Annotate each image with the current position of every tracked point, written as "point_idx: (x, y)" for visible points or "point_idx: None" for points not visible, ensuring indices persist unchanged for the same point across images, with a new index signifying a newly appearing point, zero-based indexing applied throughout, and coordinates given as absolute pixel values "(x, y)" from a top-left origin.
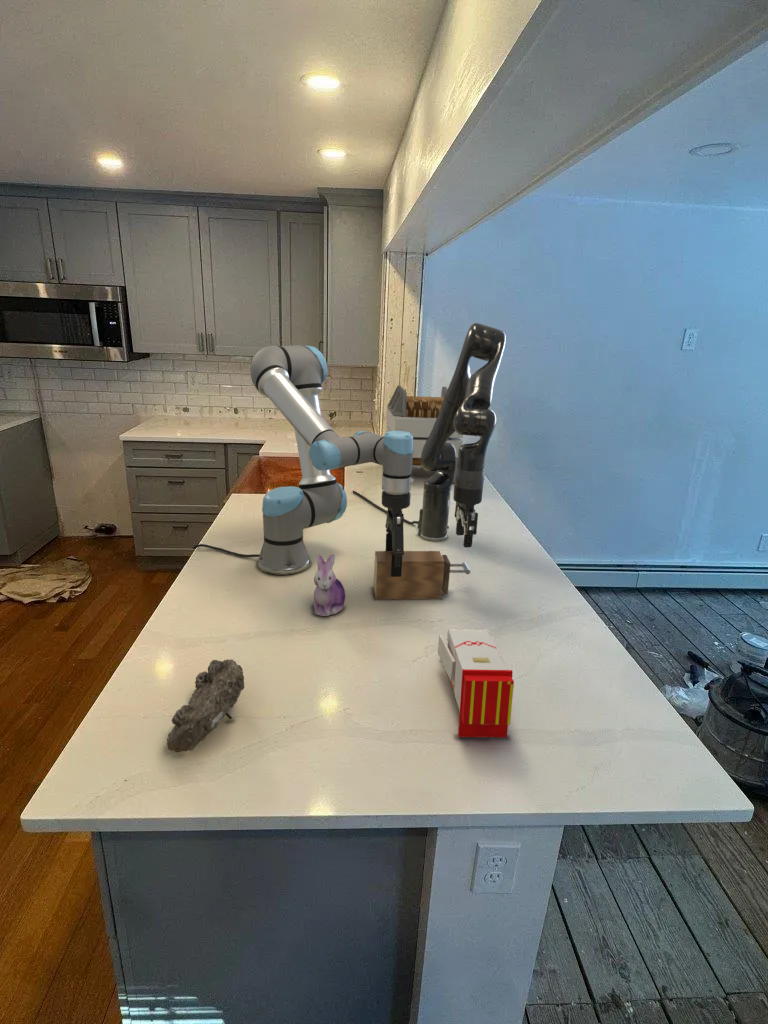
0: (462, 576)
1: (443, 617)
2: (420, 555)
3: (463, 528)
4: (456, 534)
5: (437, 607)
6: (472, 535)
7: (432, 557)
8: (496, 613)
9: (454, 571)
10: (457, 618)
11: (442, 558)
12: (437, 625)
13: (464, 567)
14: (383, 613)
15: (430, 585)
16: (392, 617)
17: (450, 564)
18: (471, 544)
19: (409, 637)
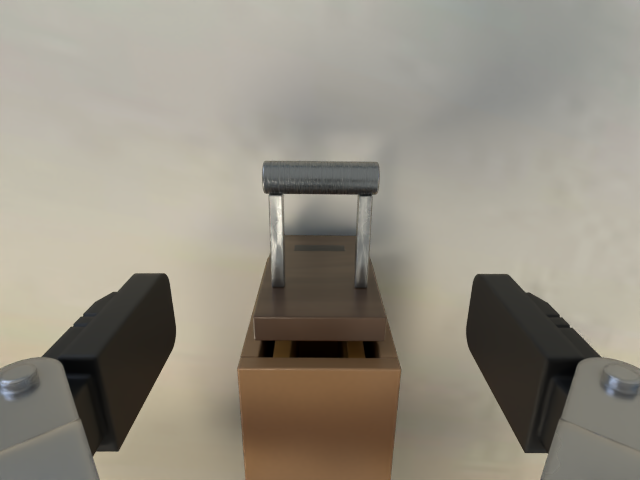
0: (144, 109)
1: (516, 277)
2: (311, 474)
3: (134, 321)
4: (172, 343)
5: (438, 284)
6: (574, 353)
7: (342, 422)
8: (534, 37)
9: (368, 259)
10: (535, 227)
11: (359, 373)
12: (565, 307)
13: (329, 192)
14: (451, 448)
15: None
16: (481, 428)
17: (280, 265)
18: (516, 288)
19: None
